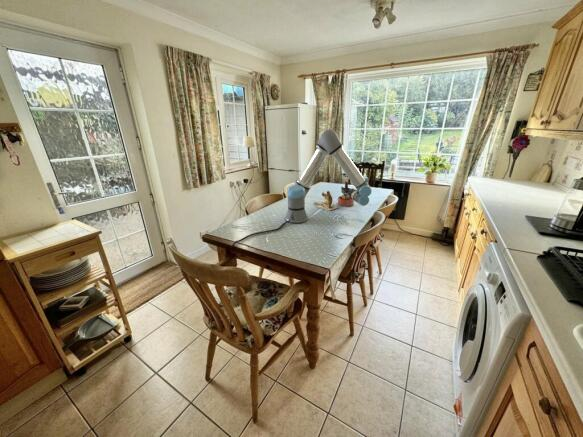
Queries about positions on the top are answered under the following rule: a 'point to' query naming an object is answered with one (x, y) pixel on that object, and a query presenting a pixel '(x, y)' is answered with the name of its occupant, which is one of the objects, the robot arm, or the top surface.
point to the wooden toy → (326, 202)
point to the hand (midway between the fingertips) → (343, 188)
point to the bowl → (345, 201)
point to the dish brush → (346, 197)
